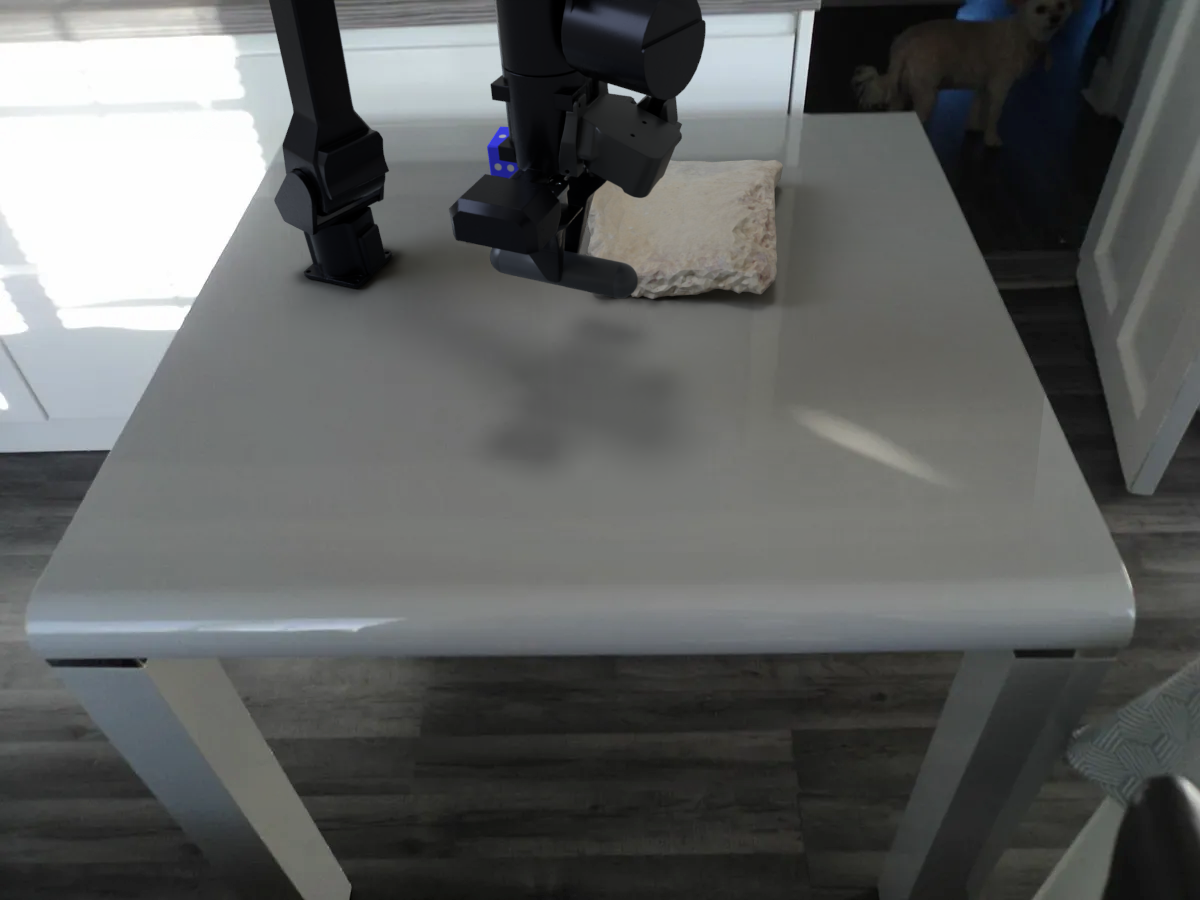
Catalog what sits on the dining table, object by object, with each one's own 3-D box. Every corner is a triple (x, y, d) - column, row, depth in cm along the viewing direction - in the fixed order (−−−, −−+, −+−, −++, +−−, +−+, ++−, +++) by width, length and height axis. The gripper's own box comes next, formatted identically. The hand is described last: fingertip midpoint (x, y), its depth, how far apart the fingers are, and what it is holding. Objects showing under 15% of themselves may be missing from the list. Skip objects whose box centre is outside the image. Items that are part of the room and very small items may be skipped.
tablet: (559, 303, 85) (775, 303, 81) (546, 231, 81) (775, 226, 76) (610, 188, 103) (789, 183, 98) (601, 123, 98) (790, 114, 94)
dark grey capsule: (485, 276, 70) (481, 246, 68) (501, 259, 72) (498, 230, 70) (630, 308, 66) (629, 277, 64) (643, 289, 68) (643, 259, 66)
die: (535, 191, 100) (531, 148, 97) (492, 188, 101) (486, 145, 97) (546, 170, 104) (542, 128, 100) (504, 168, 104) (499, 125, 101)
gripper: (604, 140, 49) (612, 368, 60) (714, 23, 61) (704, 229, 72) (427, 112, 52) (464, 331, 63) (564, 6, 64) (576, 206, 75)
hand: (562, 271), depth 68 cm, fingers closed on dark grey capsule, 2 cm apart
